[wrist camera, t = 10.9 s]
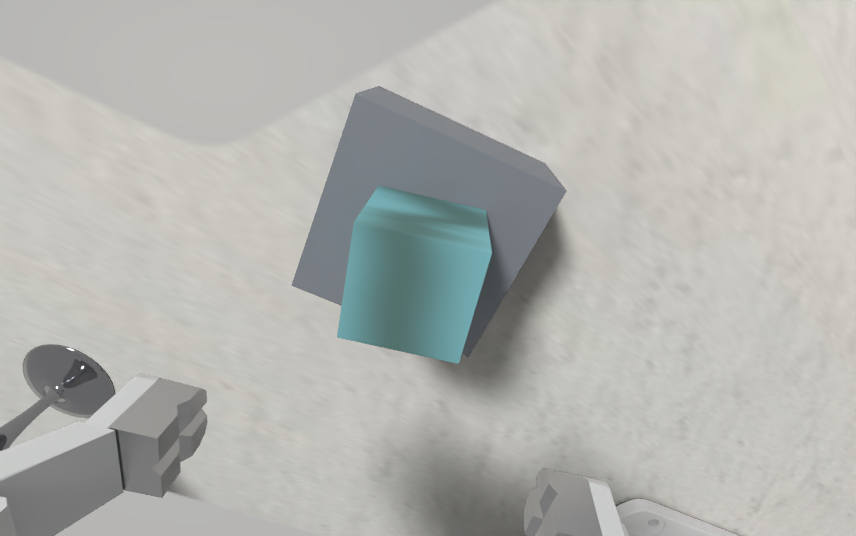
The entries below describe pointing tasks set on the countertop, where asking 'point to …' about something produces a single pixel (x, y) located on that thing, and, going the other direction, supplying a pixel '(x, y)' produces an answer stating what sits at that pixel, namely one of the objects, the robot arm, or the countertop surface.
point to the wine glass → (60, 387)
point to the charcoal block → (427, 192)
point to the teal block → (414, 274)
